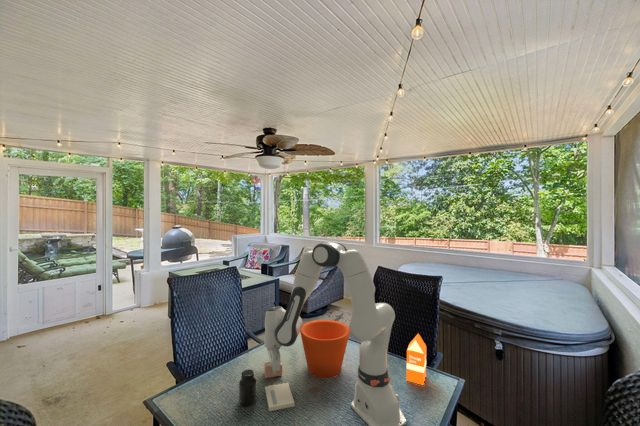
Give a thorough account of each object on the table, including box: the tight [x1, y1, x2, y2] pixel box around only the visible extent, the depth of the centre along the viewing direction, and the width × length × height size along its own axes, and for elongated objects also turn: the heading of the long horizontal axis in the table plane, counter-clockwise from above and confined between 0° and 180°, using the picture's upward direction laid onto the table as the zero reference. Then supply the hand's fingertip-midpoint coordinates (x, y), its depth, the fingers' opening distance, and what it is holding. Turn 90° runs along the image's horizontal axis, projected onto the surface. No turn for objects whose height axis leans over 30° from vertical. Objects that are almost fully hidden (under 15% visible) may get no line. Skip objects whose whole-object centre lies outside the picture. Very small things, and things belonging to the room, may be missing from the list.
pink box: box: [263, 361, 283, 379], centre depth 132 cm, size 4×8×5 cm, turn 108°
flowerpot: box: [299, 319, 351, 380], centre depth 137 cm, size 25×25×20 cm
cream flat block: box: [264, 381, 295, 412], centre depth 115 cm, size 14×10×2 cm
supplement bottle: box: [238, 369, 257, 408], centre depth 112 cm, size 7×7×12 cm
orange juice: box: [406, 332, 427, 386], centre depth 130 cm, size 8×9×20 cm
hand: (273, 370), depth 132 cm, fingers closed on pink box, 4 cm apart
